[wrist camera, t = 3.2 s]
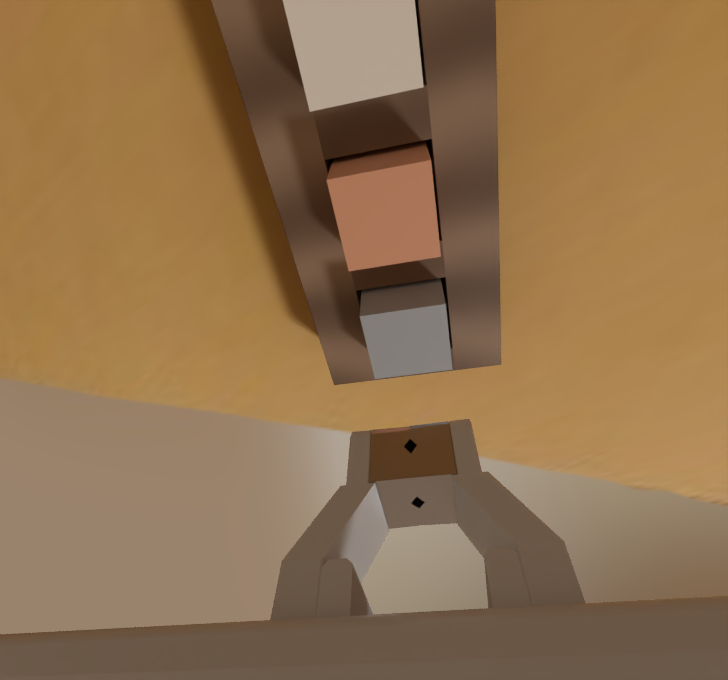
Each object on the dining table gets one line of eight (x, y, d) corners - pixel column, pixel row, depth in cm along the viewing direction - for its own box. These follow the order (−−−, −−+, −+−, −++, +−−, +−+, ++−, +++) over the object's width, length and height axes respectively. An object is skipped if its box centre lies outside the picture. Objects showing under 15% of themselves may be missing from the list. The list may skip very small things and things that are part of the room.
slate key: (362, 278, 30) (359, 316, 26) (437, 266, 29) (445, 303, 25) (375, 337, 33) (374, 379, 29) (444, 328, 32) (452, 369, 28)
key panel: (215, -69, 21) (185, -82, 18) (474, -143, 19) (492, -172, 16) (338, 351, 36) (334, 385, 33) (490, 330, 34) (501, 364, 31)
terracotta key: (334, 154, 25) (326, 179, 21) (423, 136, 24) (431, 159, 21) (353, 236, 28) (348, 271, 24) (433, 223, 27) (440, 256, 24)
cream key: (293, -28, 20) (274, -34, 17) (403, -57, 19) (407, -70, 16) (321, 94, 23) (310, 111, 20) (417, 73, 22) (423, 87, 19)
